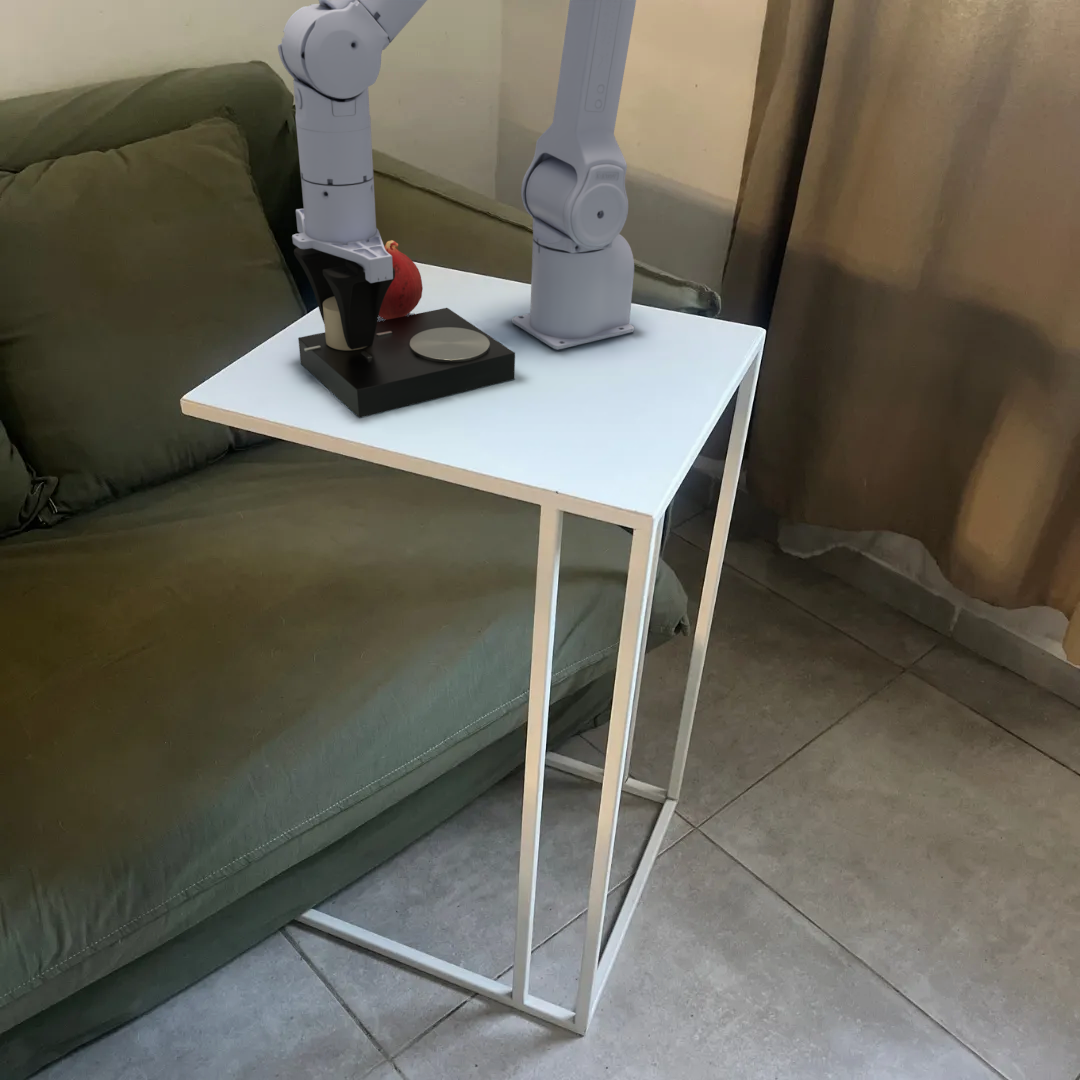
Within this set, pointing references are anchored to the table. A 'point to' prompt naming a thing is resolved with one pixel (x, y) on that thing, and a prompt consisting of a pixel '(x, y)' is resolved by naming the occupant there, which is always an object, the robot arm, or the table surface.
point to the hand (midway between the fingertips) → (348, 336)
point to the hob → (401, 365)
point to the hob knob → (334, 325)
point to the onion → (401, 285)
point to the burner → (449, 345)
